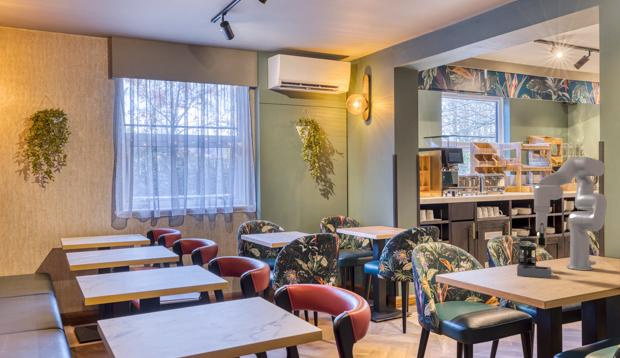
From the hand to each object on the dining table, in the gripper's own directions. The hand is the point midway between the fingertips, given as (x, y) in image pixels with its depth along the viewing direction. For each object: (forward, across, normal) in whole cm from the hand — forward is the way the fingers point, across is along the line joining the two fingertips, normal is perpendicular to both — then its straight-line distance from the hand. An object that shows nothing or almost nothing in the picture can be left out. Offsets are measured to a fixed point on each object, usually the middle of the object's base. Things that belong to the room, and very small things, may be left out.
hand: (541, 244), depth 267 cm
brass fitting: (+1, 0, 0) cm, 1 cm away
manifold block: (+16, 0, -4) cm, 17 cm away
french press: (+16, -20, -7) cm, 26 cm away
